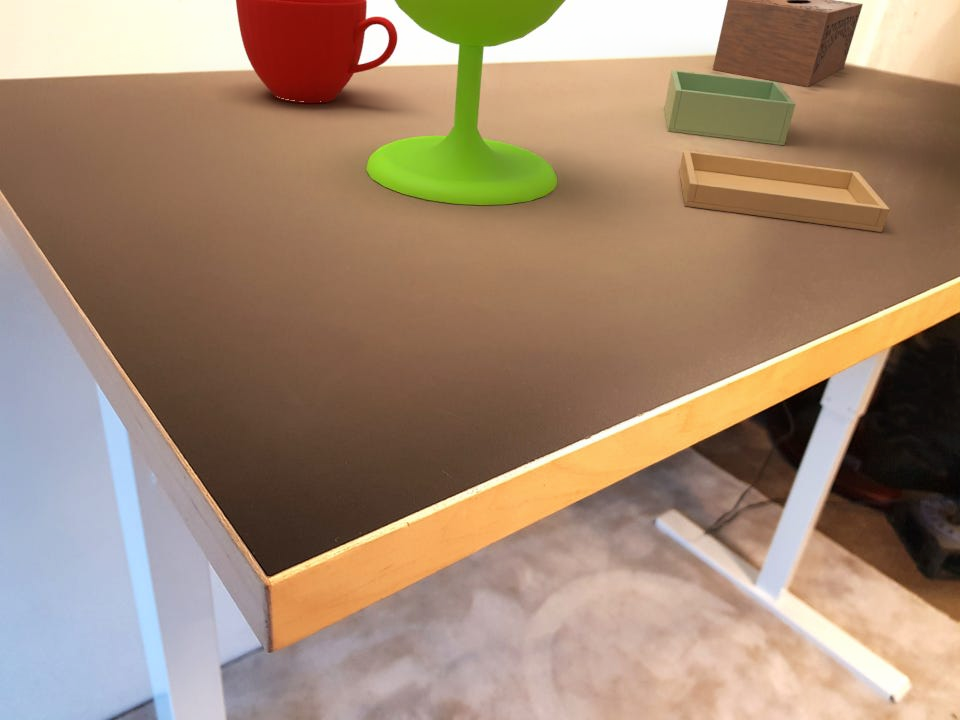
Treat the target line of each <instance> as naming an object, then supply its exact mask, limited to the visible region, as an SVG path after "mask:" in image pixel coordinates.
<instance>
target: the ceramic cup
mask: <svg viewBox="0 0 960 720" xmlns="http://www.w3.org/2000/svg"><path fill="white" fill-rule="evenodd" d="M235 4H236V5H235V6H236V13H237V21H238V26H239V31H240V36H241V41H242V44H243V48H244V51H245V54H246V56H247V59H248V61H249V63H250V66H251V67H252V69H253V70H254V72H255V74H256V75H257V76H258V78H259V80H260V81H261V82H262V83H263V84H264V86H265V87H266V88H267V89H268V90H269V91H270V92H271V93H272V96H273V97H274V98H276V99H278V100H281V101H286V102H291V103H298V104H299V103H300V104H320V103H322V104H323V103H328V102H331V101H334V100H336V99H337V96H338V95H339V94H340V92H341V91H343V90H344V88H345V87H346V86H347V85H348V83H349V82H350V80H351V79H352V77H353V76H354V74H358V73H363V72H366V71H369V70H372V69H376V68H378V67H380V66H381V65H383V64H385V63H386V62H387V61H388V60H389V59H390V58H391V57H392V56H393V54H394V52H395V50H396V47H397V44H398V32H397V28H396V26H395V25H394V23H393V22H392V21H390V19H388V18H386V17H384V16H370V17H368V18H367V11H368V10H367V6H368V5H367V4H368V1H367V0H235ZM374 25H379V26H382V27H383V28H385V30H386V32H387V35H388V41H387V42H388V43H387V46H386V48H385V50H384V51H383V53H382V54H380V56H378V57H377V58H375V59H373V60H371V61H368V62H364V63H360V64H359V62H360V60H361V57H362V52H363V47H364V42H365V33H366V30H368V28H370V27H371V26H374ZM273 94H274V95H275V96H274V95H273ZM276 96H278V97H280V98H278V97H276ZM281 98H284V99H281ZM285 99H289V100H285ZM290 100H295V101H290ZM299 101H304V102H299ZM320 101H321V102H320Z"/></svg>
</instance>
